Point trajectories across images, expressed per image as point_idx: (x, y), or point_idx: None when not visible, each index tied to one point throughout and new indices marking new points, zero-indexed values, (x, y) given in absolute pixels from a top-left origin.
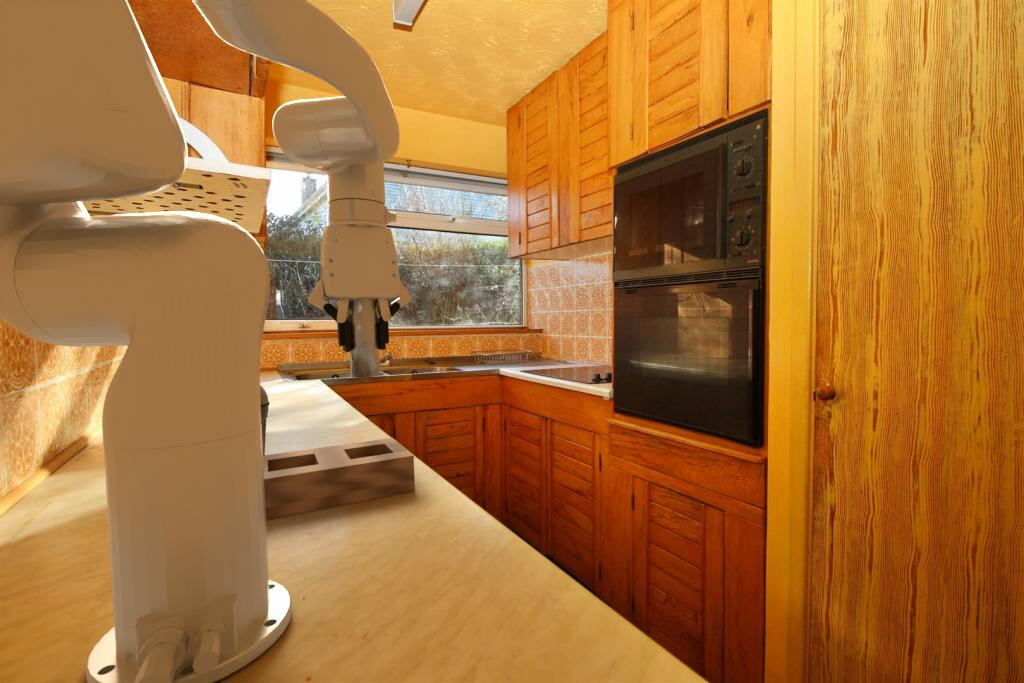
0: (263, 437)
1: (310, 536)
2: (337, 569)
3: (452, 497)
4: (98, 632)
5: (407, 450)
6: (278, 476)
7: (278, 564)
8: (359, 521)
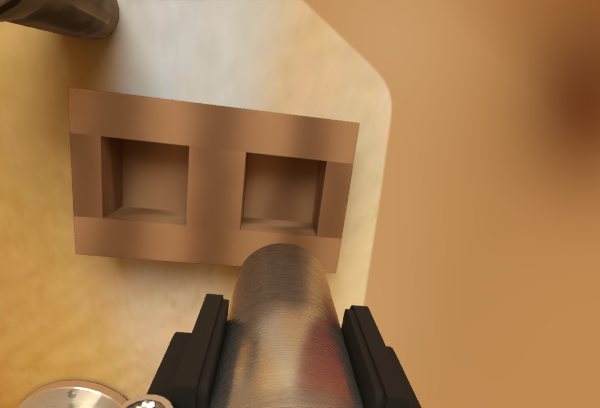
0: (76, 4)
1: (172, 311)
2: None
3: (355, 298)
4: (2, 386)
5: (341, 237)
6: (118, 255)
7: (136, 354)
8: (230, 303)
